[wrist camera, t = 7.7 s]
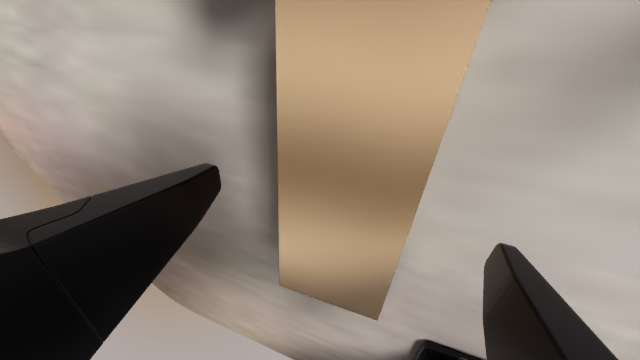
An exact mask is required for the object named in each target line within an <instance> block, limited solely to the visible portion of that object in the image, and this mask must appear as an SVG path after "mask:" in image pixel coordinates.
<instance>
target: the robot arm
mask: <svg viewBox="0 0 640 360" xmlns="http://www.w3.org/2000/svg"><path fill="white" fill-rule="evenodd" d="M220 189H221V181H220V174H219V169H218V167H217V166H215V165H211V164H207V163H205V164H201V165H198V166H194V167H191V168H188V169H184V170H181V171H177V172H174V173H170V174H167V175H163V176H160V177H156V178H153V179H149V180H146V181H142V182H139V183H135V184H132V185H128V186H125V187H121V188H118V189H114V190H111V191H107V192H104V193H100V194H97V195H94V196H93V197H92V196H90V197H86V198H83V199H79V200H76V201H72V202H68V203H65V204H61V205H58V206H54V207H50V208H46V209H42V210H38V211H34V212H30V213H25V214H21V215H17V216H12V217H8V218H4V219H0V360H90V359H91V358H92V356H93V355H94V354H95V353H96V351H97V350H98V349H99V348H100V346H101V345H102V344H103V342H104V341H105V340H106V339H107V337H108V336H109V335H110V334H111V332H112V331H113V330H114V329H115V327H116V326H117V325H118V324H119V323H120V321H121V320H122V319H123V318H124V316H125V315H126V314H127V313H128V311H129V310H130V309H131V308H132V306H133V305H134V304H135V303H136V301H137V300H138V299H139V298H140V297H141V295H142V294H143V293H144V292H145V290H146V289H147V288H148V287H149V285H150V284H151V283H152V282H153V280H154V279H155V278H156V277H157V275H158V274H159V273H160V272H161V270H162V269H163V268H164V267H165V265H166V264H167V263H168V262H169V261H170V259H171V258H172V257H173V256H174V254H175V253H176V252H177V251H178V249H179V248H180V247H181V246H182V244H183V243H184V242H185V241H186V239H187V238H188V237H189V236H190V234H191V233H192V232H193V231H194V229H195V228H196V227H197V225H198V224H199V223H200V221H201V220H202V218H203V217H204V215H205V214H206V212H207V210H208V209H209V207H210V206H211V204H212V203H213V201H214V200H215V198H216V196H217V195H218V193H219V192H220ZM483 327H484V337H485V347H486V356H487V360H618V359H617V358H616V357H615V356H614V354H613V353H612V352H611V351H610V350H609V349H608V348H607V347H606V346H605V345H604V343H603V342H602V341H601V340H600V339H599V338H598V337H597V336H596V335H595V334H594V332H593V331H592V330H591V329H590V328H589V327H588V326H587V325H586V324H585V323H584V321H583V320H582V319H581V318H580V317H579V316H578V315H577V314H576V313H575V312H574V310H573V309H572V308H571V307H570V306H569V305H568V304H567V303H566V302H565V301H564V299H563V298H562V297H561V296H560V295H559V294H558V293H557V292H556V291H555V290H554V288H553V287H552V286H551V285H550V284H549V283H548V282H547V281H546V280H545V279H544V277H543V276H542V275H541V274H540V273H539V272H538V271H537V270H536V269H535V268H534V266H533V265H532V264H531V263H530V262H529V261H528V260H527V259H526V258H525V257H524V255H523V254H522V253H521V252H520V251H519V250H518V249H517V248H516V247H514V246H511V245H507V244H503V243H499V244H497V245H496V246H495V248H494V249H493V251H492V253H491V254H490V256H489V257H488V259H487V261H486V263H485V266H484V288H483ZM414 360H478V359H476V358H473V357H470V356H467V355H464V354H462V353H459V352H456V351H453V350H451V349H448V348H445V347H442V346H439V345H437V344H434V343H430V342H426V343H424V344H423V345H422V346H421V348H420V350H419V352H418V353H417V355H416V357H415V359H414Z"/></svg>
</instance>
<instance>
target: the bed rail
mask: <svg viewBox="0 0 640 360" xmlns="http://www.w3.org/2000/svg"><path fill="white" fill-rule="evenodd" d="M490 2H491V0H275V18H276V84H277V150H278V216H279V282H280V286H282V287H285V288H288V289H291V290H293V291H296V292H299V293H302V294H304V295H307V296H310V297H313V298H316V299H318V300H321V301H324V302H327V303H330V304H332V305H335V306H338V307H341V308H344V309H346V310H349V311H352V312H355V313H358V314H360V315H363V316H366V317H369V318H372V319H374V320H378V318H379V315H380V312H381V309H382V306H383V304H384V301H385V298H386V295H387V292H388V289H389V287H390V284H391V281H392V278H393V275H394V273H395V270H396V267H397V264H398V261H399V258H400V256H401V253H402V250H403V247H404V244H405V242H406V239H407V236H408V233H409V230H410V228H411V225H412V222H413V219H414V216H415V213H416V211H417V208H418V205H419V202H420V199H421V197H422V194H423V191H424V188H425V185H426V182H427V180H428V177H429V174H430V171H431V168H432V166H433V163H434V160H435V157H436V154H437V152H438V149H439V146H440V143H441V140H442V137H443V135H444V132H445V129H446V126H447V123H448V121H449V118H450V115H451V112H452V109H453V107H454V104H455V101H456V98H457V95H458V92H459V90H460V87H461V84H462V81H463V78H464V76H465V73H466V70H467V67H468V64H469V61H470V59H471V56H472V53H473V50H474V47H475V45H476V42H477V39H478V36H479V33H480V31H481V28H482V25H483V22H484V19H485V16H486V14H487V11H488V8H489V5H490Z"/></svg>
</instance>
